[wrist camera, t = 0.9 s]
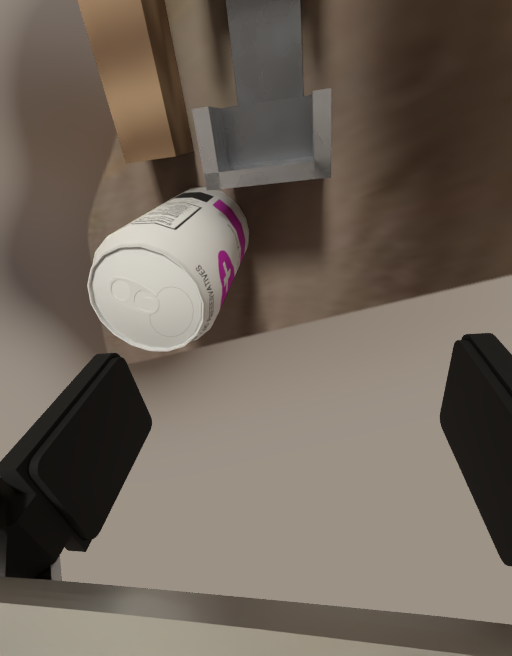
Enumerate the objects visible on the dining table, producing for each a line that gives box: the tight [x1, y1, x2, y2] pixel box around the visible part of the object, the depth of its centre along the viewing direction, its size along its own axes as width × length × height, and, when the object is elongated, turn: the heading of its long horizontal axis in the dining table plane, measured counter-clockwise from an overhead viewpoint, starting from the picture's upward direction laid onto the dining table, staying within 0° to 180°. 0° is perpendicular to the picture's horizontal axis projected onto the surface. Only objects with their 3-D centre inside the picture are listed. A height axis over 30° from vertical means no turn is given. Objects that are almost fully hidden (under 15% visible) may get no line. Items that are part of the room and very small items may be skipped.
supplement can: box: [87, 187, 249, 351], centre depth 25 cm, size 8×8×15 cm
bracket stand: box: [192, 0, 331, 191], centre depth 20 cm, size 19×8×8 cm, turn 7°
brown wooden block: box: [78, 0, 194, 163], centre depth 23 cm, size 14×4×5 cm, turn 7°
